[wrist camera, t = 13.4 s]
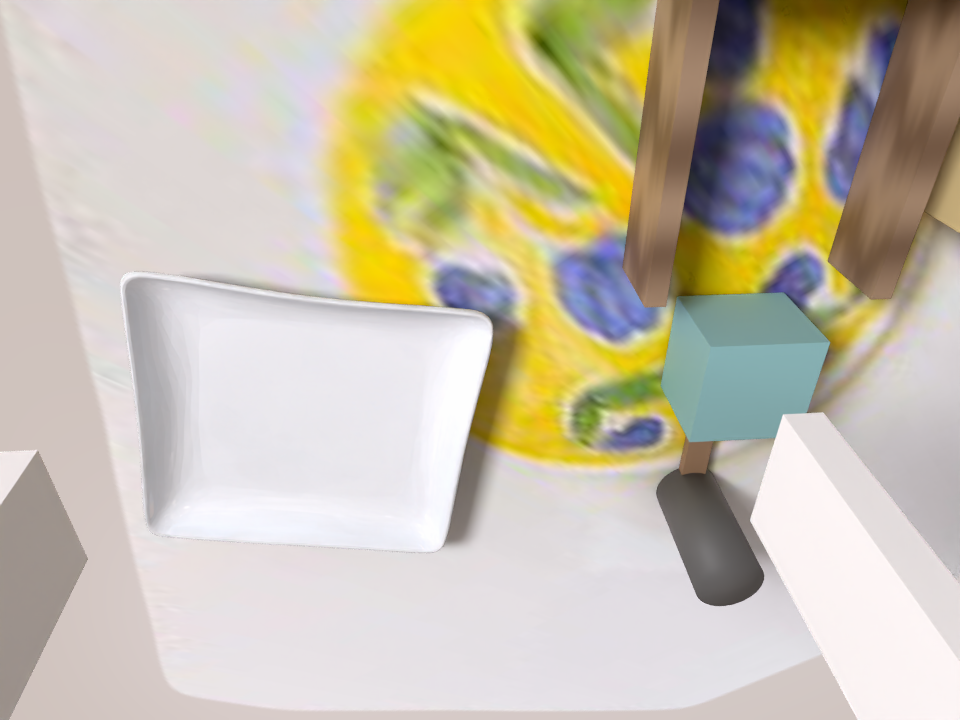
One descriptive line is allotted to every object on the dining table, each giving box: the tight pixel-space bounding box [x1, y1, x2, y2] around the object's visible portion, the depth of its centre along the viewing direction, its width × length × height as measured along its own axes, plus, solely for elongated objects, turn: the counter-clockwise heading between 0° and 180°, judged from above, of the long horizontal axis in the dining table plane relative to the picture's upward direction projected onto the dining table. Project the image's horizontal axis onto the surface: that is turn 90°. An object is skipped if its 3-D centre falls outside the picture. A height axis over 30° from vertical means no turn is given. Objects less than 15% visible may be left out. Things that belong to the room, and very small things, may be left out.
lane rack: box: [623, 0, 960, 307], centre depth 36 cm, size 18×28×7 cm, turn 90°
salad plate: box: [120, 271, 493, 553], centre depth 46 cm, size 21×21×3 cm
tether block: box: [656, 293, 830, 606], centre depth 46 cm, size 19×7×9 cm, turn 0°
